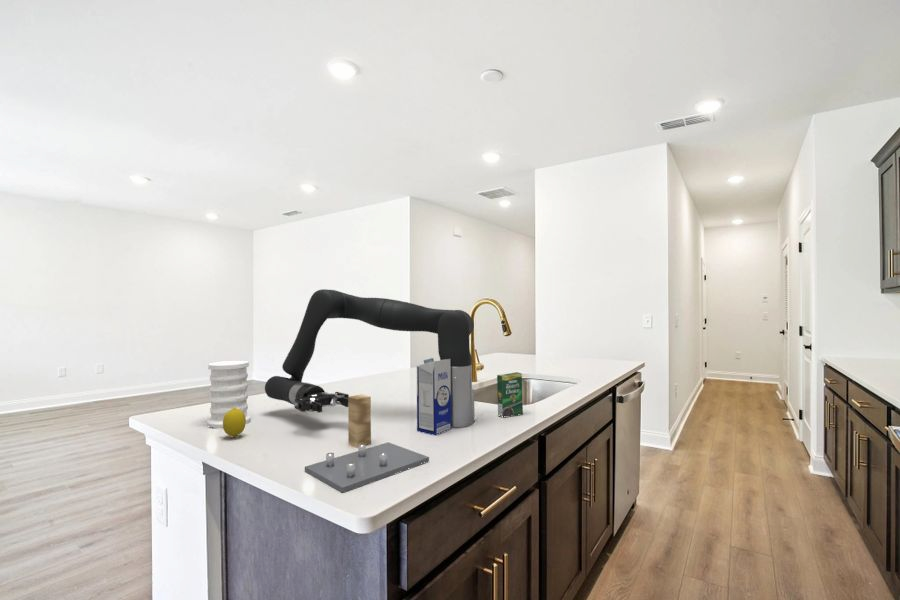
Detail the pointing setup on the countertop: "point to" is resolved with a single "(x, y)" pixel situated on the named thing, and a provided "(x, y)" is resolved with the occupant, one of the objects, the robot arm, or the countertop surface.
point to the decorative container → (227, 390)
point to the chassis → (364, 465)
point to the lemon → (234, 422)
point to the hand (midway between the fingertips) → (335, 405)
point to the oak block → (359, 420)
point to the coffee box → (510, 394)
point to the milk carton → (434, 396)
